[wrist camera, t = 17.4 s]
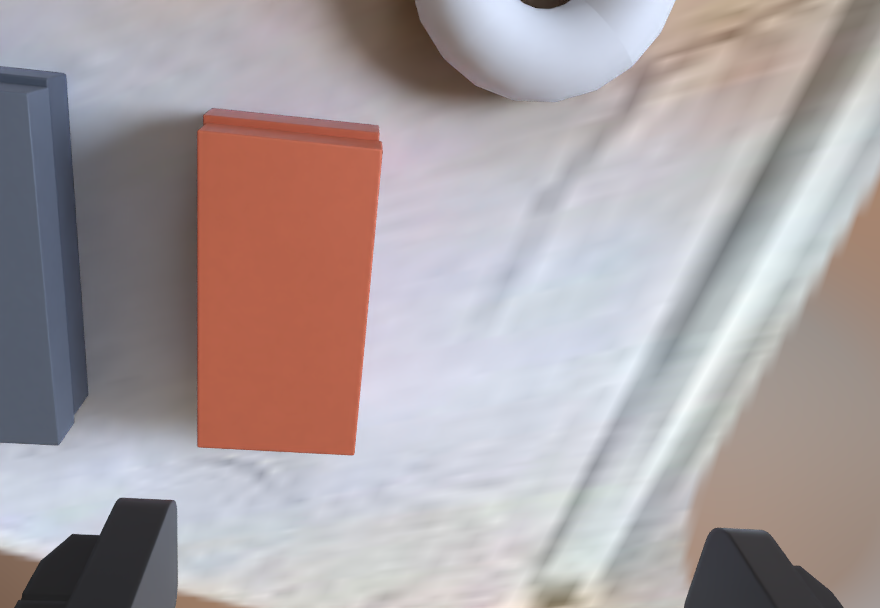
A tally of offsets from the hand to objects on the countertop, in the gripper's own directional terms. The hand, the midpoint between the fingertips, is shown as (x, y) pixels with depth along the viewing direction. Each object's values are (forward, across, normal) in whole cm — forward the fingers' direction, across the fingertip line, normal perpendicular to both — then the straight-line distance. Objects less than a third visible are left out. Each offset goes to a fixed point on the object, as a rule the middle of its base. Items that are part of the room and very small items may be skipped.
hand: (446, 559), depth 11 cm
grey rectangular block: (+22, +16, +4) cm, 27 cm away
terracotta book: (+18, +4, +4) cm, 19 cm away
